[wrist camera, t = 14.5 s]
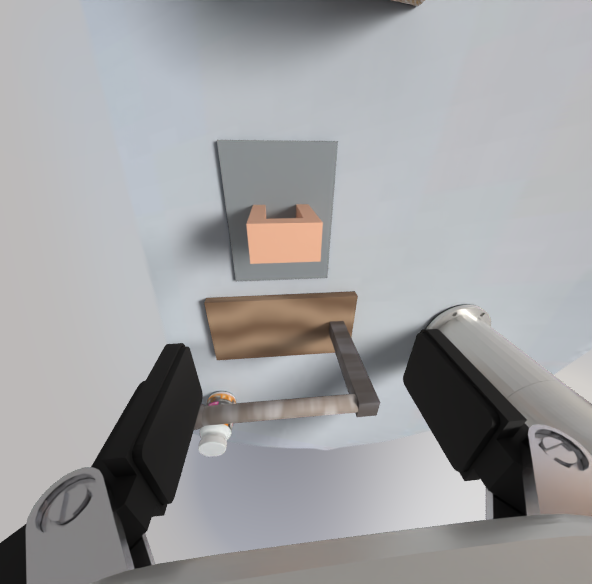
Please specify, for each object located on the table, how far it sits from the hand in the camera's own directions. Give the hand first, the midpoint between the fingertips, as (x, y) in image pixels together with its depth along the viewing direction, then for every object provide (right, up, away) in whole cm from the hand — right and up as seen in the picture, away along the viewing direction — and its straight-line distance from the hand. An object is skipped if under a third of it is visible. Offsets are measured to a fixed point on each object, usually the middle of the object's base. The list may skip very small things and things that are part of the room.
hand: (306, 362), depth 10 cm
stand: (-3, -3, +31) cm, 32 cm away
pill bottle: (-16, -19, +40) cm, 47 cm away
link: (-2, +13, +22) cm, 26 cm away
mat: (-3, +13, +23) cm, 26 cm away
